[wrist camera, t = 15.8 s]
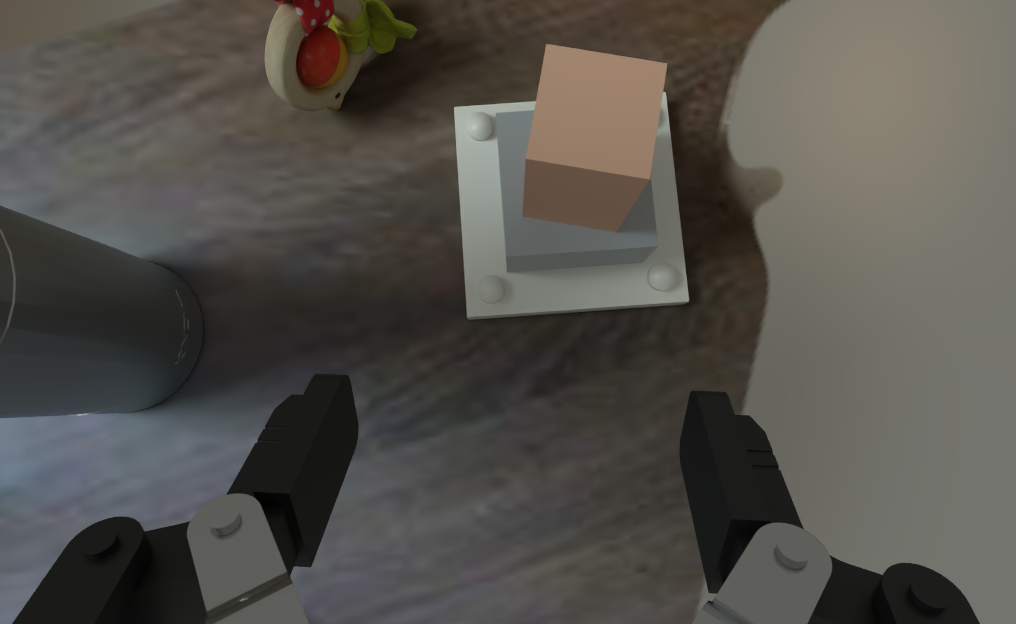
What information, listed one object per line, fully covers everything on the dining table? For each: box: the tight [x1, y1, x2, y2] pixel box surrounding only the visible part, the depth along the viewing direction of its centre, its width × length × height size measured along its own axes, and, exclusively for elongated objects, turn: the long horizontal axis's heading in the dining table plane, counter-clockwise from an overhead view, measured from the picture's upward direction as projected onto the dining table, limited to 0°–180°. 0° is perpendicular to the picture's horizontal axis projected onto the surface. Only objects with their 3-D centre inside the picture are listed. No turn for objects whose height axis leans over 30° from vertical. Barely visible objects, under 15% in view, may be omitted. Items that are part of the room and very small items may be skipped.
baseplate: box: [454, 92, 689, 320], centre depth 35 cm, size 13×13×5 cm
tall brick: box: [522, 44, 667, 232], centre depth 29 cm, size 5×5×8 cm
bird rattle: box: [265, 0, 417, 111], centre depth 34 cm, size 6×11×9 cm
